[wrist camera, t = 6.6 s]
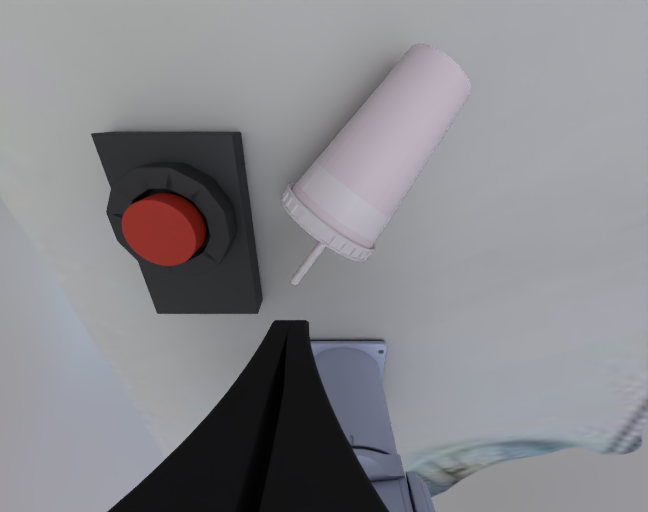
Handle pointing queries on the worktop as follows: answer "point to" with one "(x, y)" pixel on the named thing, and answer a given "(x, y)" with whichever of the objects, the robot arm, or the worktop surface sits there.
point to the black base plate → (210, 200)
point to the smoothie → (377, 156)
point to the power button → (164, 228)
